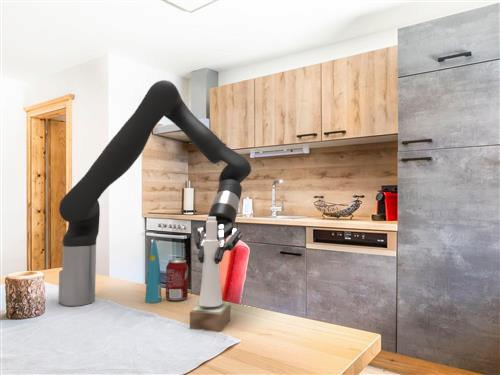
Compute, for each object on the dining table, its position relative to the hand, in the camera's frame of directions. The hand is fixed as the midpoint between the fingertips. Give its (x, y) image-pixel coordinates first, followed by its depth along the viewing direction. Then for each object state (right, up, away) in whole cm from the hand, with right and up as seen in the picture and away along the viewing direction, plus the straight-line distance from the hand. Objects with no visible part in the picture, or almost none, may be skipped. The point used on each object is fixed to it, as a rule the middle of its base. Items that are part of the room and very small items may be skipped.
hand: (208, 261), depth 91 cm
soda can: (-13, -17, +24) cm, 32 cm away
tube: (-20, -17, +21) cm, 34 cm away
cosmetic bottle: (0, -11, +2) cm, 11 cm away
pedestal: (0, -16, +1) cm, 16 cm away
